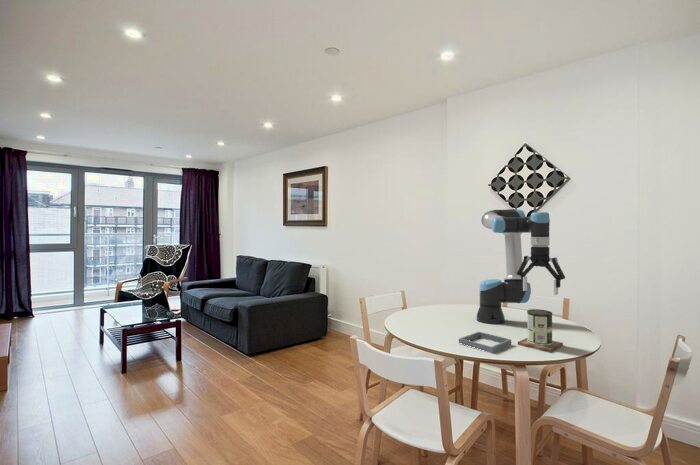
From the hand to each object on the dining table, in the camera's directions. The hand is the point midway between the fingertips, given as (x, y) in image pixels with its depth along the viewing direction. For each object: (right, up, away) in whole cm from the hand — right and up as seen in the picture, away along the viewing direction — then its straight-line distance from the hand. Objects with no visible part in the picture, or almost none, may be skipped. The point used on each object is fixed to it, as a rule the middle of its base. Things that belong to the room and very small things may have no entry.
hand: (540, 292), depth 166 cm
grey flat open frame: (-24, -24, +2) cm, 35 cm away
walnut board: (0, -24, 0) cm, 24 cm away
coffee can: (0, -23, +1) cm, 23 cm away
